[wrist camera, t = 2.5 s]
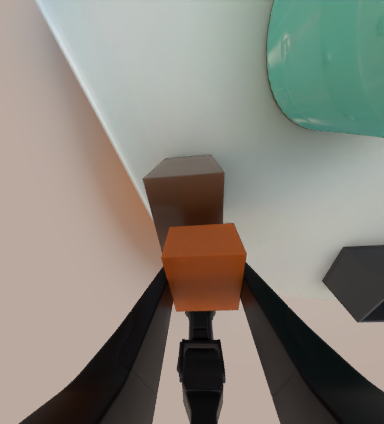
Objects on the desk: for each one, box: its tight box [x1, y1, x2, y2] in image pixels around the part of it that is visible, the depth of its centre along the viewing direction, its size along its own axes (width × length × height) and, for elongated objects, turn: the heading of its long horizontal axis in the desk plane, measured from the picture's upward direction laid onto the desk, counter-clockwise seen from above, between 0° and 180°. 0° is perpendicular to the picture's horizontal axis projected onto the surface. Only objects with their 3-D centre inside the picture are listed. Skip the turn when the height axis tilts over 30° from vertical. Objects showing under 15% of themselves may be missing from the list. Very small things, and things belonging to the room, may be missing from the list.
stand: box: [143, 155, 224, 253], centre depth 16 cm, size 8×6×9 cm
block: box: [161, 223, 247, 311], centre depth 9 cm, size 5×4×2 cm
